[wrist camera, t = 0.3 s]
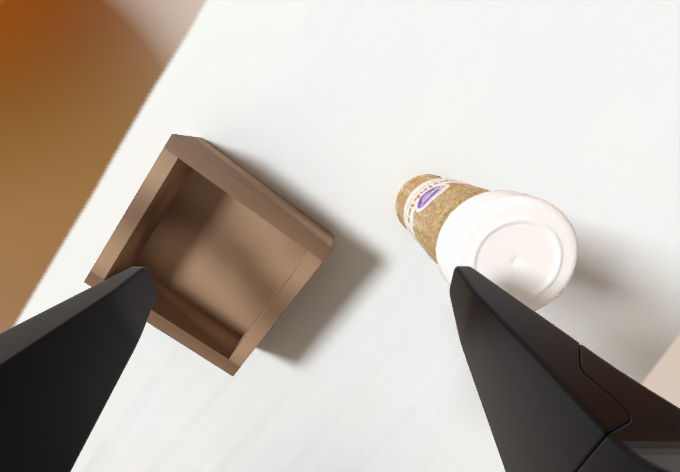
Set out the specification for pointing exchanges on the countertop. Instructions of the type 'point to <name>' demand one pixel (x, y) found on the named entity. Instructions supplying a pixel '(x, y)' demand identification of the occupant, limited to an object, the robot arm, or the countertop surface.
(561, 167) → the countertop surface
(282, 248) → the walnut crate
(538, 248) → the sprinkles bottle
